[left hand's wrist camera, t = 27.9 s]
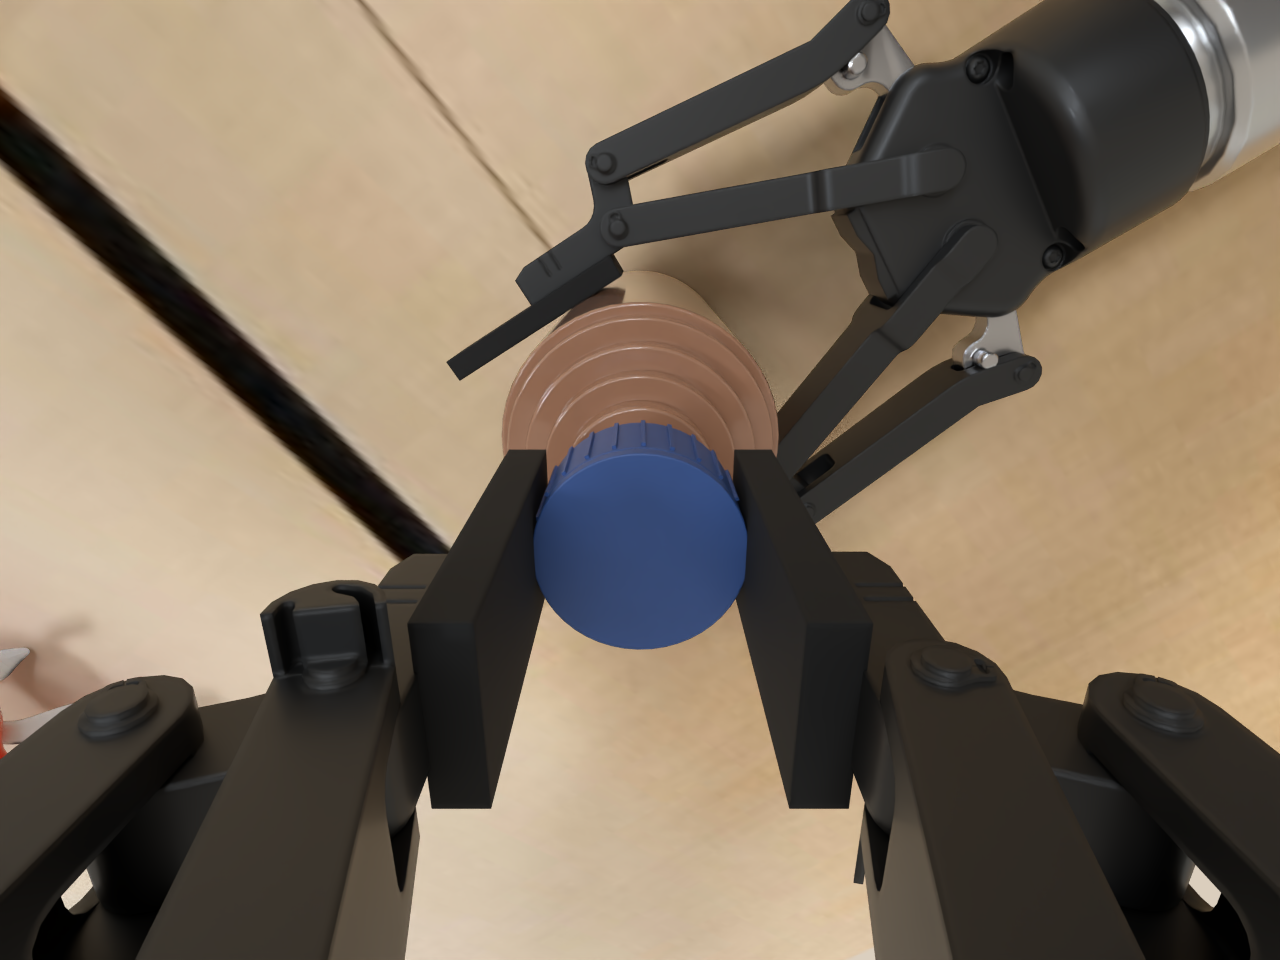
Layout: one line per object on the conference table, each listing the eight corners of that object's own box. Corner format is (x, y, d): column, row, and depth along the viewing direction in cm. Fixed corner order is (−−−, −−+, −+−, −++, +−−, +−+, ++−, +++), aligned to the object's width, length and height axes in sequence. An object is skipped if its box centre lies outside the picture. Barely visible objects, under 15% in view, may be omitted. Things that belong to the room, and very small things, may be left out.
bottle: (522, 349, 31) (360, 520, 13) (648, 232, 29) (660, 242, 11) (633, 468, 33) (625, 758, 15) (757, 364, 31) (916, 551, 13)
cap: (654, 630, 15) (656, 688, 13) (505, 525, 14) (484, 571, 12) (777, 499, 14) (798, 542, 12) (624, 378, 13) (622, 403, 11)
